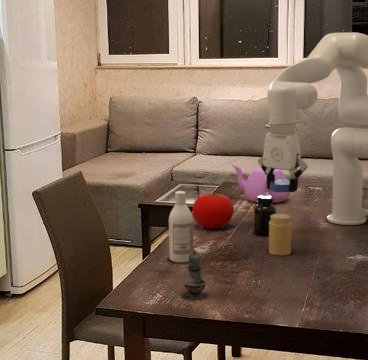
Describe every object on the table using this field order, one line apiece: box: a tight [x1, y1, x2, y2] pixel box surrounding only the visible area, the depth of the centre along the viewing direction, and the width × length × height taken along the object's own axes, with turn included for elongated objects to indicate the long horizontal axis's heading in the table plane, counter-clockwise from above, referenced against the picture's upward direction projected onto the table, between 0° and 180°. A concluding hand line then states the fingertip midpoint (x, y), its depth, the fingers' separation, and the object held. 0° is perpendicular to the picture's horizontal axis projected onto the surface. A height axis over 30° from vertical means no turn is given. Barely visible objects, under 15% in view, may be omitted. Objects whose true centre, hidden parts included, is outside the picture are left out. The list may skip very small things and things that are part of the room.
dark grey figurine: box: [182, 248, 207, 300], centre depth 185 cm, size 6×6×12 cm
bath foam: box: [168, 190, 194, 264], centre depth 213 cm, size 7×7×20 cm
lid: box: [270, 178, 291, 193], centre depth 215 cm, size 7×7×2 cm
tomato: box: [192, 192, 235, 230], centre depth 247 cm, size 13×14×12 cm
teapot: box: [231, 164, 291, 204], centre depth 282 cm, size 22×22×14 cm
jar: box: [268, 213, 292, 256], centre depth 218 cm, size 6×6×11 cm
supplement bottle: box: [253, 196, 277, 237], centre depth 237 cm, size 7×7×12 cm
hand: (282, 189), depth 215 cm, fingers closed on lid, 6 cm apart
